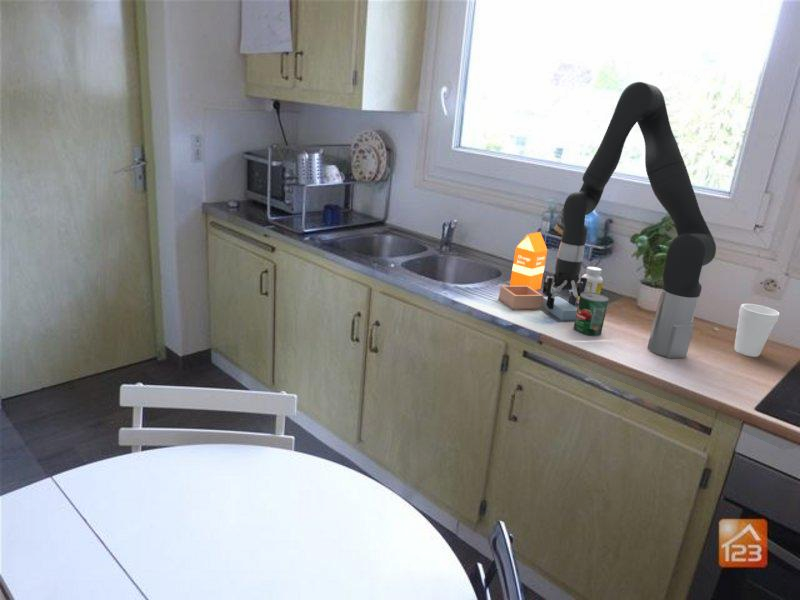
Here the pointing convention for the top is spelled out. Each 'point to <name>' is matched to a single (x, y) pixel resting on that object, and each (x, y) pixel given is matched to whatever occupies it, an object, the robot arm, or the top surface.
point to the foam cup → (754, 328)
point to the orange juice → (529, 262)
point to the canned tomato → (590, 313)
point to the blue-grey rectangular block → (561, 308)
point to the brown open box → (520, 297)
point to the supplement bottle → (593, 280)
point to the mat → (554, 316)
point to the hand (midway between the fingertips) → (560, 308)
